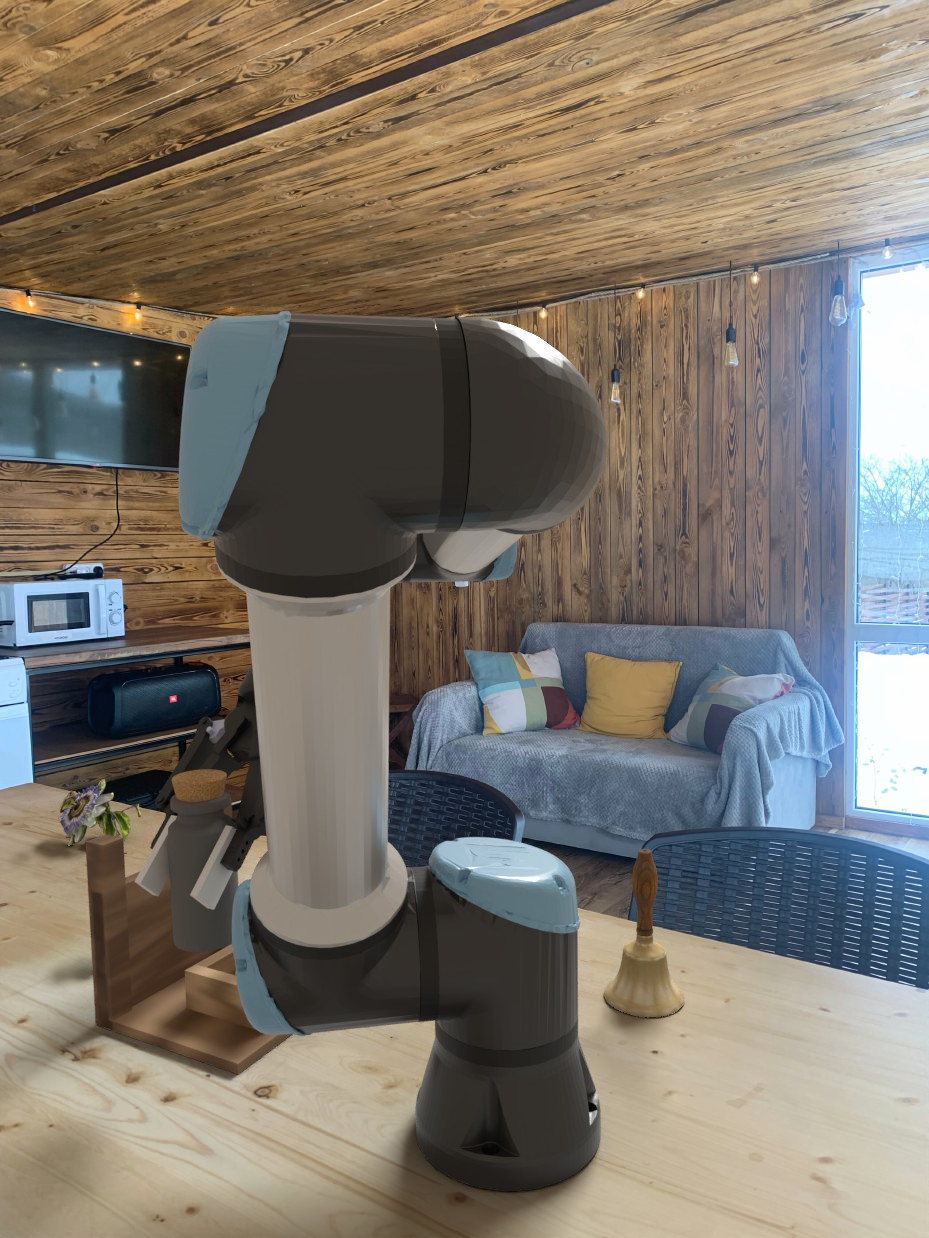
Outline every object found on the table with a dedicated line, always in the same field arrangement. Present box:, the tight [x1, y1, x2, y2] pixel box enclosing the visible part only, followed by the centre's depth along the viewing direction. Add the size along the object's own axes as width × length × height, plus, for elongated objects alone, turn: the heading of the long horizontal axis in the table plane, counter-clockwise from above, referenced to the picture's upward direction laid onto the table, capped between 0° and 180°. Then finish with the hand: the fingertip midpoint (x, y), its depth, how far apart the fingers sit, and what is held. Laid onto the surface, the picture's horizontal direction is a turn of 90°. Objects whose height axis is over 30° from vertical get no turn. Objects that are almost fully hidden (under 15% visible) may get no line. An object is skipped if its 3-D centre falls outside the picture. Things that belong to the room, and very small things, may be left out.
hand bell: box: [603, 848, 685, 1019], centre depth 96 cm, size 8×8×16 cm
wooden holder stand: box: [84, 797, 293, 1075], centre depth 95 cm, size 19×18×19 cm
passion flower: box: [57, 778, 142, 846], centre depth 151 cm, size 11×11×12 cm
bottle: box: [168, 769, 239, 952], centre depth 82 cm, size 6×6×15 cm
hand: (174, 895), depth 79 cm, fingers closed on bottle, 6 cm apart
